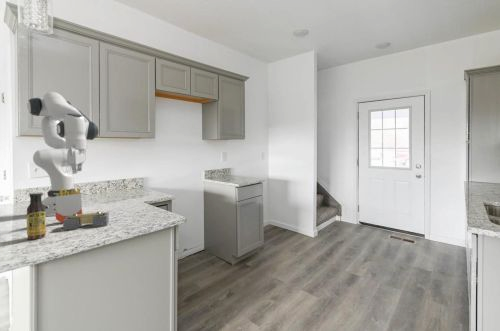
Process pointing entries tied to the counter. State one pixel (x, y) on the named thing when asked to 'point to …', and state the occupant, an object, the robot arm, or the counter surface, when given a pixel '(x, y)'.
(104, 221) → the chain end right
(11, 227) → the counter surface
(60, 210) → the french fries container
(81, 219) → the link
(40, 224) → the sauce bottle
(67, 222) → the chain end left
